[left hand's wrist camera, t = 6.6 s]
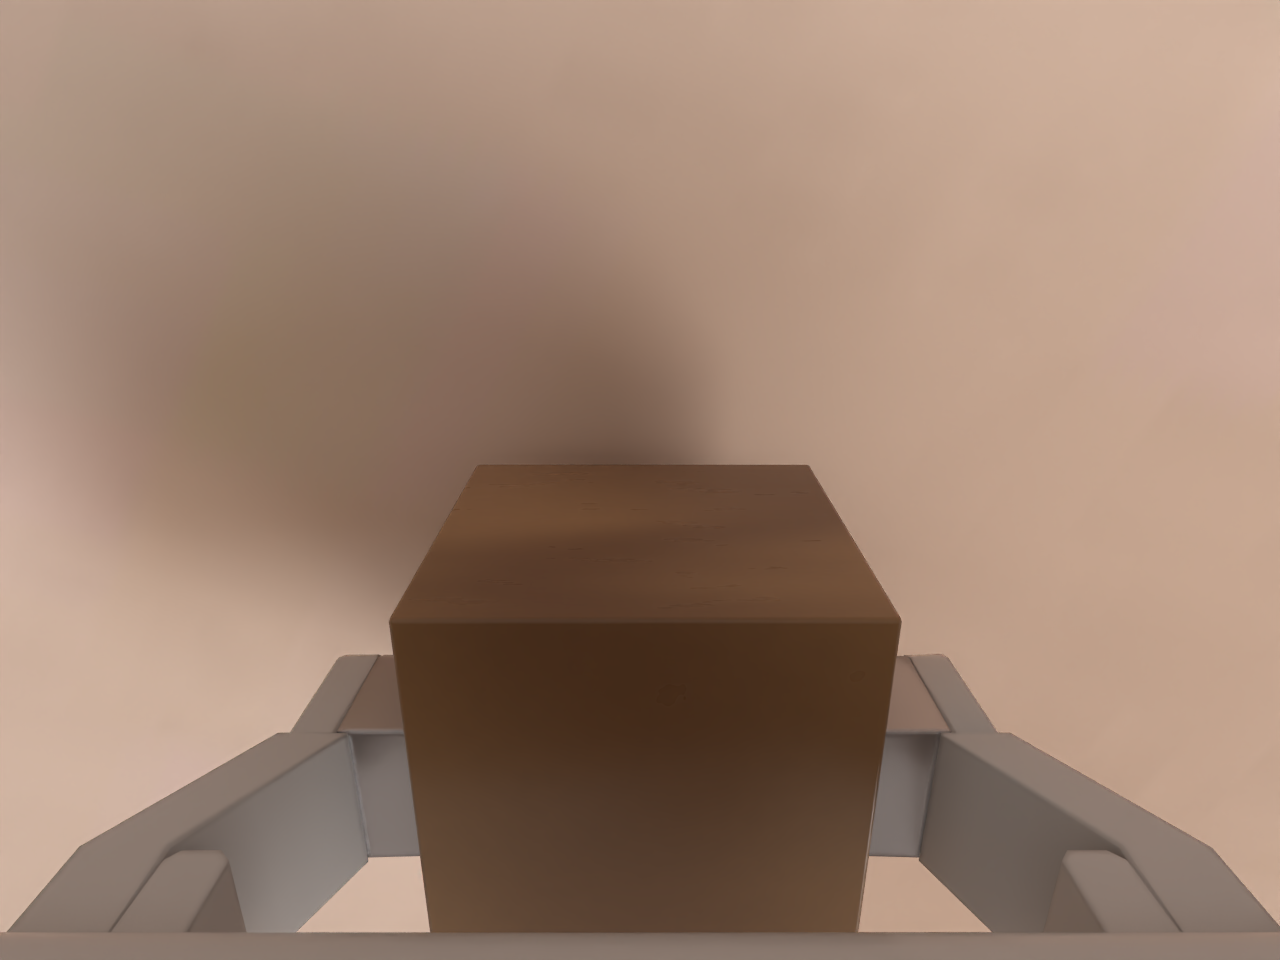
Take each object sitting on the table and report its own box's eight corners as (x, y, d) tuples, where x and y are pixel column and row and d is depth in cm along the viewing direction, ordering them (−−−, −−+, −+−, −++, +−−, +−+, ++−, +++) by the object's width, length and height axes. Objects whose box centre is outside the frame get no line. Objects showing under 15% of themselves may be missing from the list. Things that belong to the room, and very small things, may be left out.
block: (809, 463, 11) (904, 619, 7) (785, 748, 13) (850, 999, 9) (476, 463, 11) (386, 619, 7) (499, 748, 13) (437, 998, 9)
